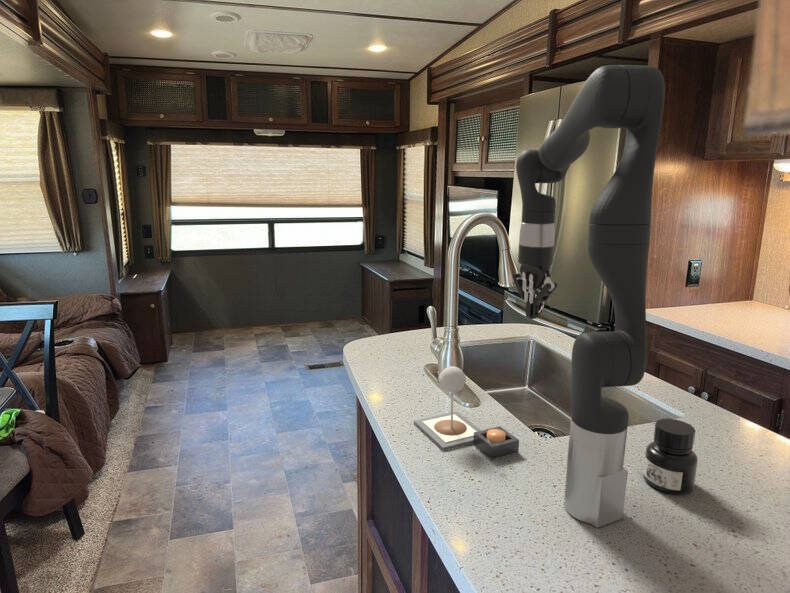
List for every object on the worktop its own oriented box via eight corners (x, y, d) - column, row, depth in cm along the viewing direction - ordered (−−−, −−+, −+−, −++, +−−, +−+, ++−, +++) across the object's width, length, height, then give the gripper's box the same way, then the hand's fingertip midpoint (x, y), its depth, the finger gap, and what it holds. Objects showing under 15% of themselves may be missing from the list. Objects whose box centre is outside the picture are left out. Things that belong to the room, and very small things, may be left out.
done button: (508, 448, 116) (509, 435, 115) (493, 452, 114) (493, 439, 114) (497, 439, 120) (498, 427, 119) (482, 443, 118) (483, 431, 117)
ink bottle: (631, 474, 107) (637, 419, 105) (664, 465, 111) (671, 412, 108) (671, 501, 99) (679, 442, 96) (706, 491, 102) (714, 434, 99)
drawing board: (488, 439, 121) (489, 435, 121) (442, 450, 116) (442, 446, 116) (456, 414, 134) (456, 410, 133) (413, 423, 129) (413, 419, 128)
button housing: (518, 452, 116) (519, 440, 115) (491, 459, 113) (492, 446, 112) (499, 438, 122) (499, 426, 121) (473, 444, 119) (473, 432, 118)
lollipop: (443, 435, 121) (444, 373, 117) (434, 423, 126) (435, 364, 123) (469, 431, 122) (470, 370, 119) (459, 420, 128) (460, 361, 124)
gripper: (570, 246, 114) (564, 323, 118) (530, 238, 125) (525, 309, 130) (543, 248, 111) (537, 328, 115) (504, 240, 122) (500, 312, 127)
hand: (531, 317), depth 122 cm, fingers closed
